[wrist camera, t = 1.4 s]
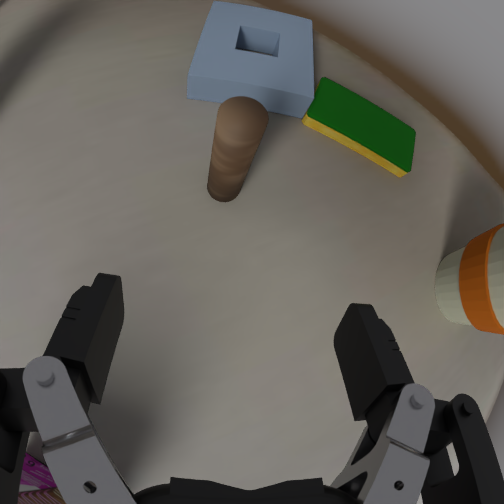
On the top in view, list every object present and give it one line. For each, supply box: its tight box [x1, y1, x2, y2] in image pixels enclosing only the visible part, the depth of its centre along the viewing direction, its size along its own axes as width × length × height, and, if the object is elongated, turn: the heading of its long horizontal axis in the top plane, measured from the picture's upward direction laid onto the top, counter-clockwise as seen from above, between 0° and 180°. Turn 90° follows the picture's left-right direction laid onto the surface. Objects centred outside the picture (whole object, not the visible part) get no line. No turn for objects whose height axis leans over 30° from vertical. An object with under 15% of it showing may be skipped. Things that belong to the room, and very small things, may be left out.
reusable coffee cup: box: [435, 223, 504, 335], centre depth 26 cm, size 13×13×15 cm
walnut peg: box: [207, 96, 269, 202], centre depth 24 cm, size 3×3×12 cm
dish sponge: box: [302, 77, 416, 177], centre depth 34 cm, size 7×14×2 cm, turn 67°
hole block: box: [187, 1, 314, 118], centre depth 32 cm, size 13×15×4 cm
